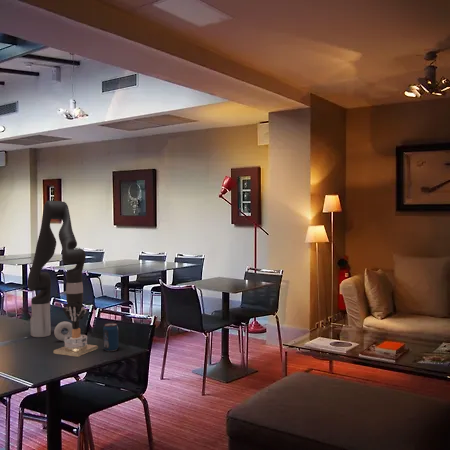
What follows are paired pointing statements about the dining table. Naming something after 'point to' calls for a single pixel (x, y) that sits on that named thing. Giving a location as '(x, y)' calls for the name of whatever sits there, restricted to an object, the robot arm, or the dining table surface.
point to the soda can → (110, 337)
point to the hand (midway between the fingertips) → (75, 328)
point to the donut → (60, 327)
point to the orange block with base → (76, 334)
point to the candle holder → (75, 347)
